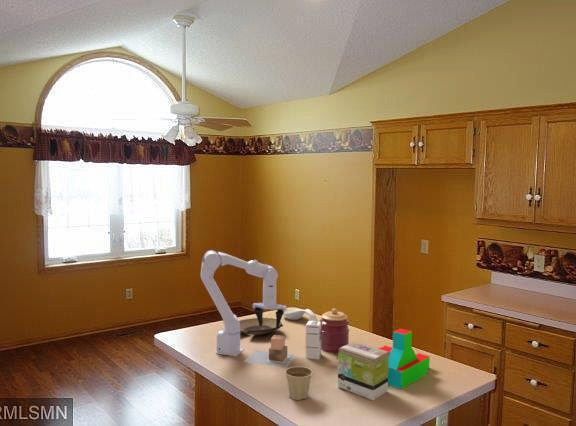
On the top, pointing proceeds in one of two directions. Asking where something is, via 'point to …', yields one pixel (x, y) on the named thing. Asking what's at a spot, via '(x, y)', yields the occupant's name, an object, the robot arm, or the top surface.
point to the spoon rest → (299, 314)
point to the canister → (334, 331)
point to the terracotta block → (277, 342)
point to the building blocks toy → (404, 360)
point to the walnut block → (278, 354)
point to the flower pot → (298, 382)
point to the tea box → (363, 370)
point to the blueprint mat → (263, 358)
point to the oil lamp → (253, 326)
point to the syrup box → (313, 339)
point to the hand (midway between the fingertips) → (269, 326)
